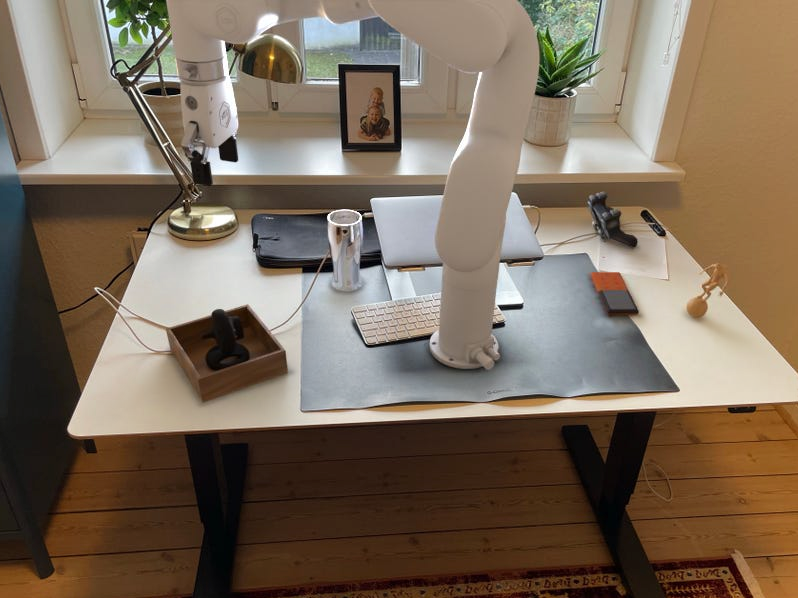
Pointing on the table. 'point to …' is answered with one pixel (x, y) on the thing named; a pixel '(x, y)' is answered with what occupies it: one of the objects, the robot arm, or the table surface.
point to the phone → (614, 293)
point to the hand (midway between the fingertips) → (216, 172)
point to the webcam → (225, 340)
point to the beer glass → (345, 248)
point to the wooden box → (212, 384)
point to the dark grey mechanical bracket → (608, 220)
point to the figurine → (708, 290)
